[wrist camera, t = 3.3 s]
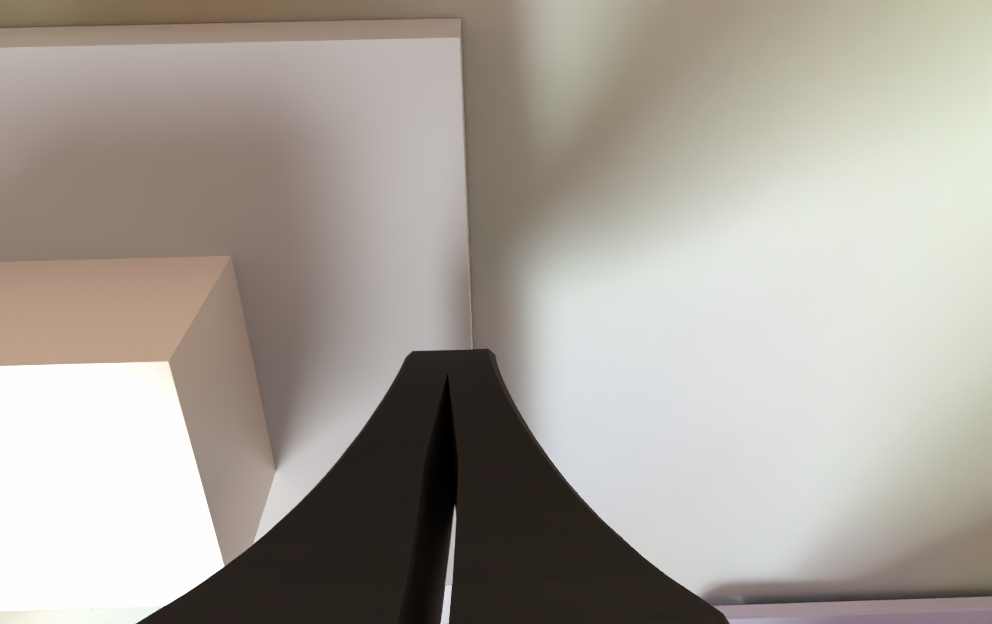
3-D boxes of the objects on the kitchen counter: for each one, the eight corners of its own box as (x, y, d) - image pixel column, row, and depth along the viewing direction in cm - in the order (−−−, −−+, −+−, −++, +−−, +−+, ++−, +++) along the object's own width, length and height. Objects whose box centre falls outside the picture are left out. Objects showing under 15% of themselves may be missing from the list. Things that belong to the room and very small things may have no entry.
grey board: (460, 17, 12) (459, 37, 11) (479, 530, 18) (480, 583, 16) (-594, 40, 12) (-723, 63, 11) (-239, 553, 17) (-296, 609, 16)
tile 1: (231, 255, 12) (168, 361, 10) (275, 471, 15) (234, 603, 12) (-55, 263, 12) (-195, 371, 10) (34, 478, 15) (-60, 612, 12)
